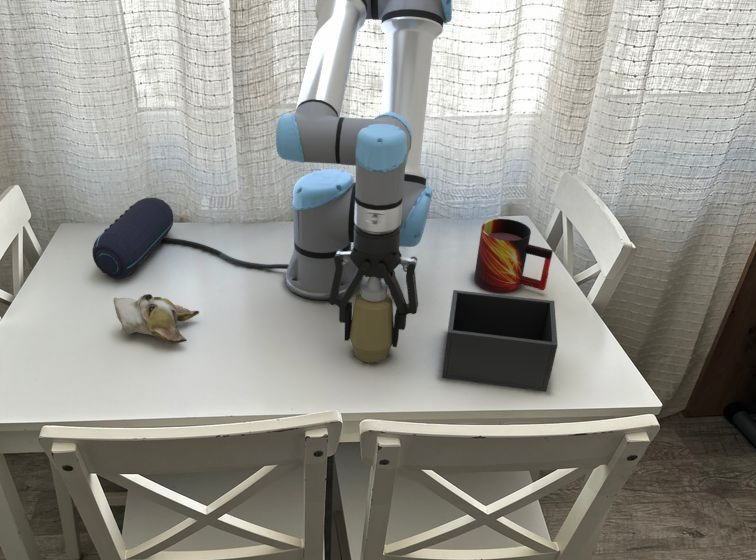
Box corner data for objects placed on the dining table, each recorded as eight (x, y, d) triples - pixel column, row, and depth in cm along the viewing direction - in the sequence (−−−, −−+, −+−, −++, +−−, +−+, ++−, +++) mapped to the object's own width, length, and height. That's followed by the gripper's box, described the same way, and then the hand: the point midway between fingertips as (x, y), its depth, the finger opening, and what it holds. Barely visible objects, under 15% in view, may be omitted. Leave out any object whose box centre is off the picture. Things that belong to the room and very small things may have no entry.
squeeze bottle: (348, 340, 135) (350, 256, 124) (391, 340, 134) (397, 256, 124) (349, 367, 128) (351, 280, 117) (394, 367, 128) (401, 280, 117)
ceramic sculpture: (122, 275, 137) (198, 284, 136) (127, 313, 142) (200, 322, 141) (102, 306, 129) (183, 316, 128) (107, 345, 134) (186, 354, 133)
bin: (441, 377, 125) (447, 332, 119) (447, 333, 136) (453, 289, 130) (546, 391, 122) (557, 345, 116) (544, 345, 133) (554, 300, 127)
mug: (544, 295, 146) (556, 243, 139) (475, 292, 148) (483, 239, 140) (538, 271, 154) (548, 220, 147) (472, 268, 155) (479, 217, 148)
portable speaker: (142, 228, 172) (135, 189, 166) (180, 233, 170) (175, 194, 164) (89, 281, 153) (80, 239, 147) (132, 287, 151) (124, 245, 145)
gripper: (309, 229, 115) (310, 344, 128) (440, 242, 111) (427, 359, 124) (319, 209, 121) (319, 321, 134) (444, 220, 117) (431, 334, 130)
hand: (371, 339), depth 129 cm, fingers closed on squeeze bottle, 8 cm apart
